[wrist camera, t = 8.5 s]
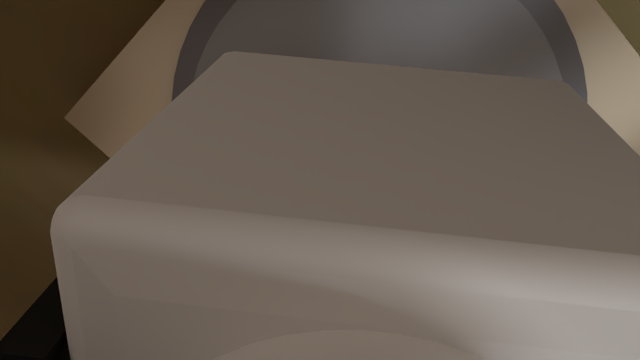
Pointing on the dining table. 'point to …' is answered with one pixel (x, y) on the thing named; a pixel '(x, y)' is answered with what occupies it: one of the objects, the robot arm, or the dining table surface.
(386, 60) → the board
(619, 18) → the dining table surface
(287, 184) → the medicine bottle
